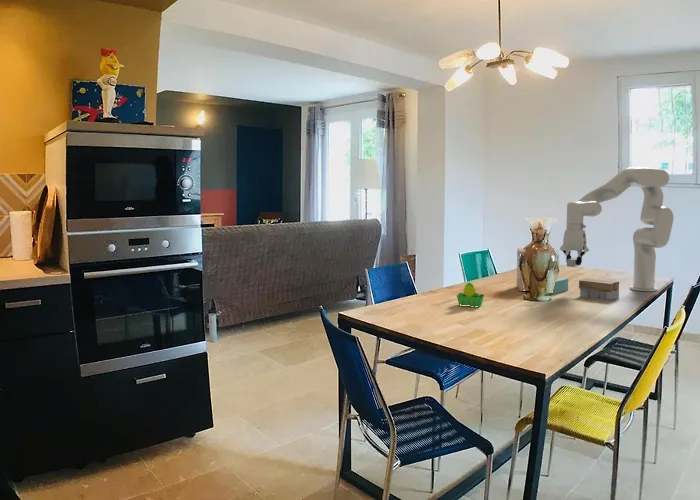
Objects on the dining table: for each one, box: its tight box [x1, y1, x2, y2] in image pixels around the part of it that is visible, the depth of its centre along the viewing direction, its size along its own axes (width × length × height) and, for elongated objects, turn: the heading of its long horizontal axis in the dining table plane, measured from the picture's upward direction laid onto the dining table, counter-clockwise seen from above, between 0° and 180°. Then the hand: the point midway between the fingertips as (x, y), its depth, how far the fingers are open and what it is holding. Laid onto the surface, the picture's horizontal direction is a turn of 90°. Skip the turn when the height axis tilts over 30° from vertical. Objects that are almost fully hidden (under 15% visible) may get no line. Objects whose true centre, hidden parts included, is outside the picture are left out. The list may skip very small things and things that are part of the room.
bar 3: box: [589, 290, 600, 300], centre depth 260 cm, size 9×4×4 cm, turn 132°
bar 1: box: [566, 257, 580, 268], centre depth 268 cm, size 8×4×3 cm, turn 139°
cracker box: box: [515, 247, 524, 292], centre depth 282 cm, size 14×6×21 cm, turn 168°
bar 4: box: [598, 289, 620, 301], centre depth 256 cm, size 9×4×4 cm, turn 120°
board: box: [578, 277, 620, 292], centre depth 260 cm, size 9×15×4 cm, turn 42°
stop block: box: [552, 277, 569, 295], centre depth 275 cm, size 14×3×6 cm, turn 132°
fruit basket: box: [456, 282, 485, 308], centre depth 245 cm, size 11×9×11 cm
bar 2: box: [579, 289, 590, 298], centre depth 264 cm, size 9×4×4 cm, turn 135°
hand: (573, 263), depth 268 cm, fingers closed on bar 1, 4 cm apart
